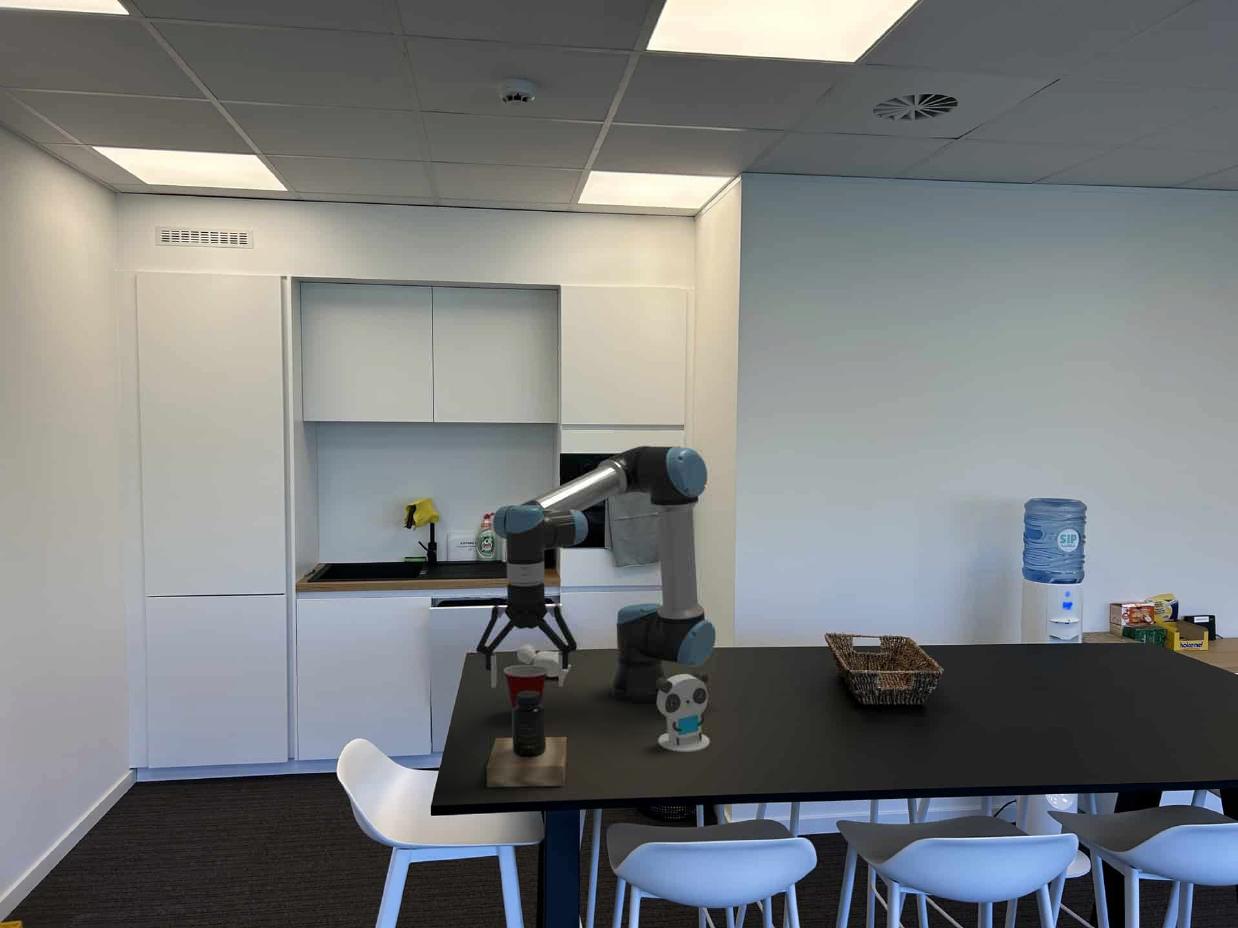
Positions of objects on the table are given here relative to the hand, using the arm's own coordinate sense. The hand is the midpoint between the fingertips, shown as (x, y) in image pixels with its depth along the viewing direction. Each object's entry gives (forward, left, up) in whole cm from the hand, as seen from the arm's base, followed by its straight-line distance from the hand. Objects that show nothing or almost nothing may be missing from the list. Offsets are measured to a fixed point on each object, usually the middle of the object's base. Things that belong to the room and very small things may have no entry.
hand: (527, 685), depth 178 cm
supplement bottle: (0, 0, -14) cm, 14 cm away
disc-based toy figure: (-33, -14, -18) cm, 40 cm away
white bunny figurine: (+1, -63, -18) cm, 65 cm away
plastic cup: (+3, -31, -18) cm, 36 cm away
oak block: (0, 0, -18) cm, 18 cm away
